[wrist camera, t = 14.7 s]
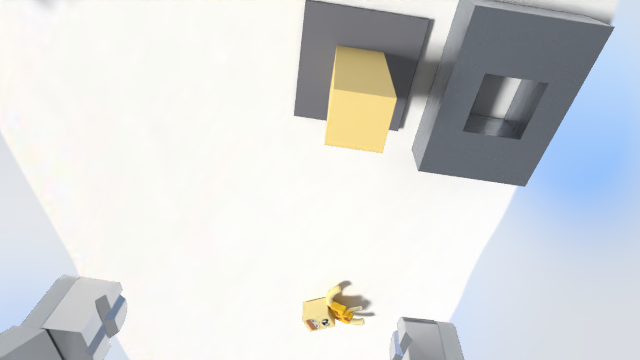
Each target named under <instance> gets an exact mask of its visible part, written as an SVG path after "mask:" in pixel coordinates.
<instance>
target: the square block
mask: <svg viewBox="0 0 640 360" xmlns="http://www.w3.org/2000/svg"><path fill="white" fill-rule="evenodd" d="M396 100H397V97H396V93H395V90H394V87H393V83H392V80H391V76H390V73H389V69H388V66H387V62H386V59H385V55H384V52H377V51H371V50H364V49H358V48H351V47H345V46H338V45H337V48H336V54H335V60H334V67H333V73H332V80H331V86H330V94H329V104H328V114H327V124H326V134H325V144H324V145H329V146H336V147H343V148H350V149H356V150H363V151H370V152H377V153H382V152H383V149H384V145H385V141H386V138H387V134H388V130H389V126H390V123H391V119H392V115H393V111H394V108H395V104H396Z"/></svg>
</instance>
